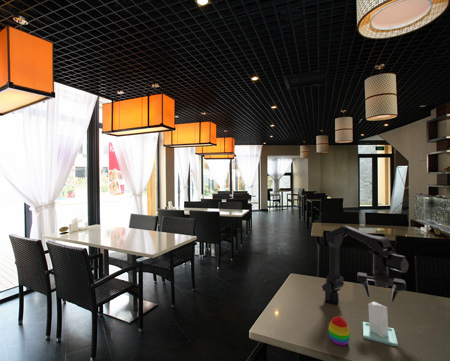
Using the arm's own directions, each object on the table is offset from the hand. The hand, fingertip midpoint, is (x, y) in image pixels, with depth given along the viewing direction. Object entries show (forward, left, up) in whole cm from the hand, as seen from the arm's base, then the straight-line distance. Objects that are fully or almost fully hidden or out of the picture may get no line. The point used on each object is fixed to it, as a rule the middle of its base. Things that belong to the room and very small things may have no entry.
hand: (380, 299), depth 114 cm
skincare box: (-1, -7, -12) cm, 14 cm away
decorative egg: (-16, -20, -13) cm, 29 cm away
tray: (-1, -7, -13) cm, 14 cm away
